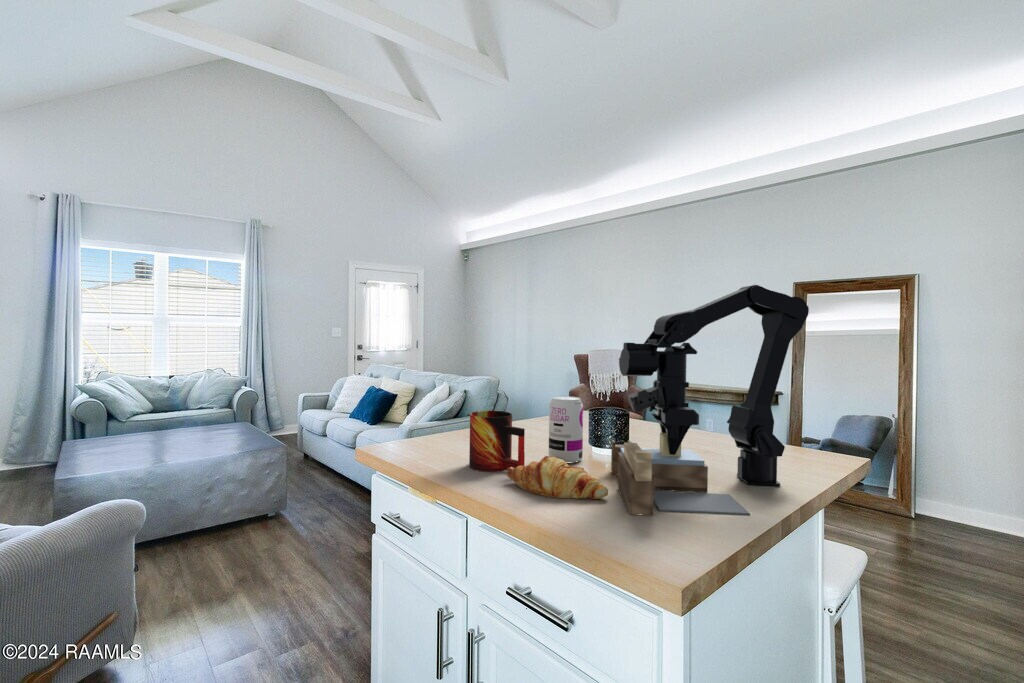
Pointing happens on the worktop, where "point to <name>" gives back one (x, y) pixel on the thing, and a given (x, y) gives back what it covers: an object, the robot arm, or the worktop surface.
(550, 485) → the croissant
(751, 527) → the worktop surface
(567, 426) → the supplement can
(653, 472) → the brown wooden box
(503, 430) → the mug
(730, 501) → the mat
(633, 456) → the beige block
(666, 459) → the lid
